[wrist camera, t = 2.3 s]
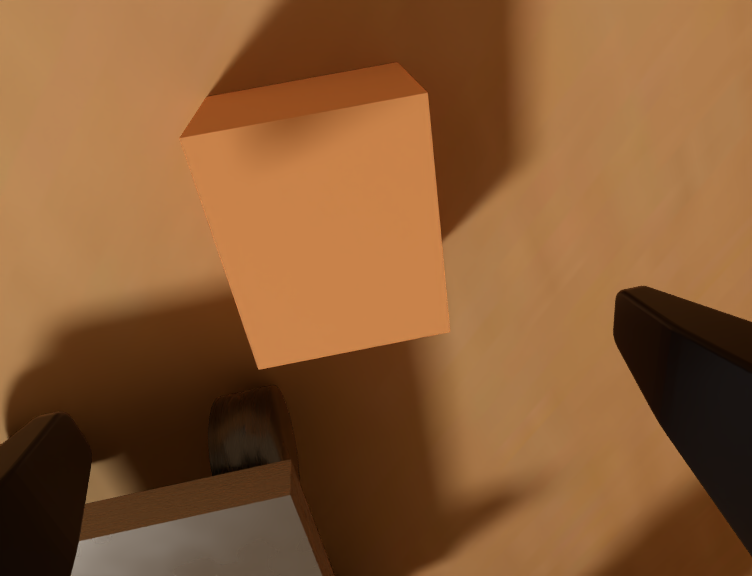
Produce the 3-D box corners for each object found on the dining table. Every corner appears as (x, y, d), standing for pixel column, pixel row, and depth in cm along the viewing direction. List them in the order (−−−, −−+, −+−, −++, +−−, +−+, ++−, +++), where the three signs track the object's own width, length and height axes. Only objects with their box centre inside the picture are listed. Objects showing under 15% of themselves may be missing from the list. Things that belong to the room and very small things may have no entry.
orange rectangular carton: (396, 61, 14) (427, 92, 11) (420, 259, 17) (450, 331, 14) (207, 95, 14) (179, 138, 11) (265, 289, 17) (258, 369, 14)
